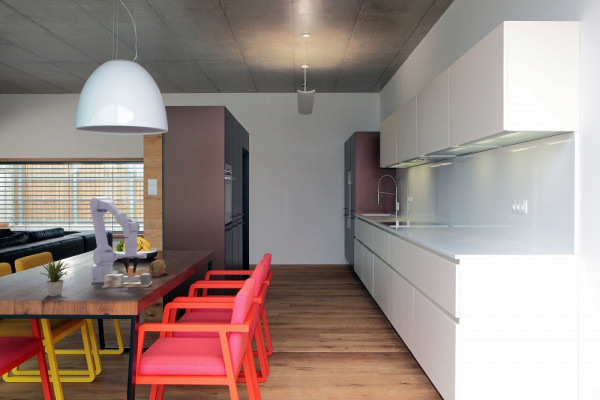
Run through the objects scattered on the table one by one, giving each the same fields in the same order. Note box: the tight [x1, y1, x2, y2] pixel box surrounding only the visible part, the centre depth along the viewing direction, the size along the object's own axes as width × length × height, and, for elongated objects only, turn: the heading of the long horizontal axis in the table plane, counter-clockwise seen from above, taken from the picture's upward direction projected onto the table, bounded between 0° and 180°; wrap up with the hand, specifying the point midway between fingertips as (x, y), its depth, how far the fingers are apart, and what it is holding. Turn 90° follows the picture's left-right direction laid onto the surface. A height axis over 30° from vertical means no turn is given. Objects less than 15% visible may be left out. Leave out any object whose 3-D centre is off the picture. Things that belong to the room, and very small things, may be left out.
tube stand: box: [101, 273, 153, 289], centre depth 237 cm, size 22×10×5 cm, turn 97°
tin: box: [149, 259, 167, 277], centre depth 268 cm, size 15×3×8 cm, turn 168°
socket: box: [140, 272, 151, 285], centre depth 238 cm, size 4×6×5 cm, turn 7°
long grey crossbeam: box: [122, 266, 141, 283], centre depth 237 cm, size 14×3×8 cm, turn 97°
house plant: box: [39, 258, 71, 297], centre depth 213 cm, size 14×14×16 cm
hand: (131, 272), depth 237 cm, fingers closed on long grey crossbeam, 3 cm apart
